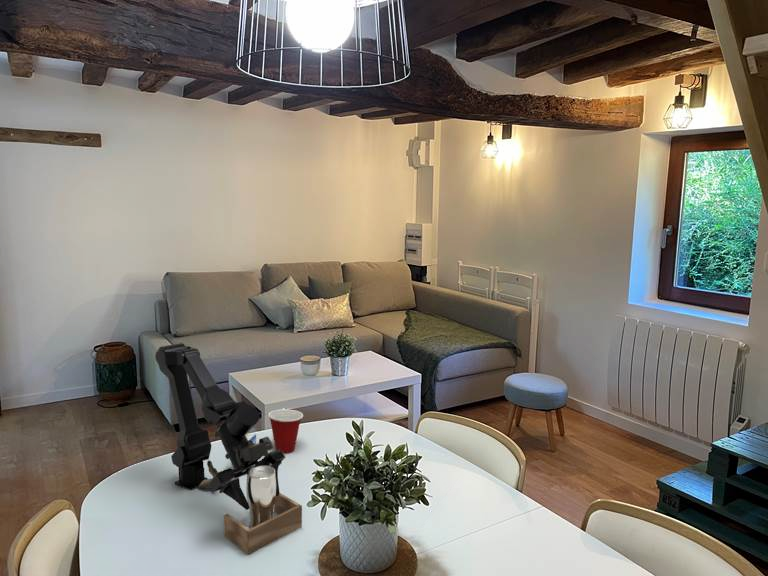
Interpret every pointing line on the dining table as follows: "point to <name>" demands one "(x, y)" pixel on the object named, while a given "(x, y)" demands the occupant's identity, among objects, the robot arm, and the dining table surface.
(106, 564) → the dining table surface
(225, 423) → the robot arm
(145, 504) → the dining table surface
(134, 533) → the dining table surface
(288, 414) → the plastic cup
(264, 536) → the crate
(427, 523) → the dining table surface
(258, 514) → the beer glass
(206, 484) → the eagle figurine
